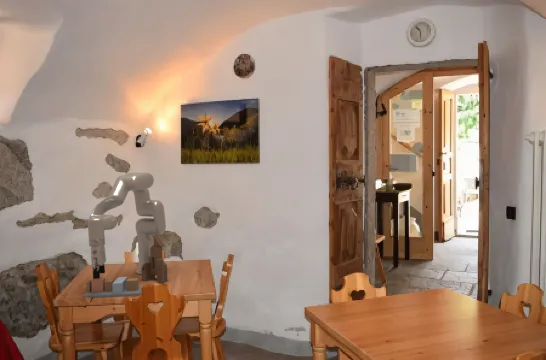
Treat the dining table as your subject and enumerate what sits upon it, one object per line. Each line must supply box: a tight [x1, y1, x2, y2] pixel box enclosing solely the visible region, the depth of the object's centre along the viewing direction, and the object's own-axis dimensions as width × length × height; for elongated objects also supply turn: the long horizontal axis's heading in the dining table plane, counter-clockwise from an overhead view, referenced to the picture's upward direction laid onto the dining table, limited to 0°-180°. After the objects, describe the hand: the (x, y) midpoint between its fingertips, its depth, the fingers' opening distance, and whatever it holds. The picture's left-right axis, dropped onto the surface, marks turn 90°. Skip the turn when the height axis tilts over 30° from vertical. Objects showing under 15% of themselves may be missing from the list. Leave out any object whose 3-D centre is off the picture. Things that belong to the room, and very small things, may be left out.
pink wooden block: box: [90, 277, 106, 292], centre depth 262 cm, size 4×6×6 cm
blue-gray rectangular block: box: [112, 276, 129, 294], centre depth 263 cm, size 13×4×5 cm, turn 3°
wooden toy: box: [141, 235, 169, 284], centre depth 285 cm, size 15×7×25 cm, turn 55°
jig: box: [82, 277, 143, 298], centre depth 263 cm, size 16×27×6 cm, turn 94°
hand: (99, 275), depth 263 cm, fingers open, 9 cm apart
